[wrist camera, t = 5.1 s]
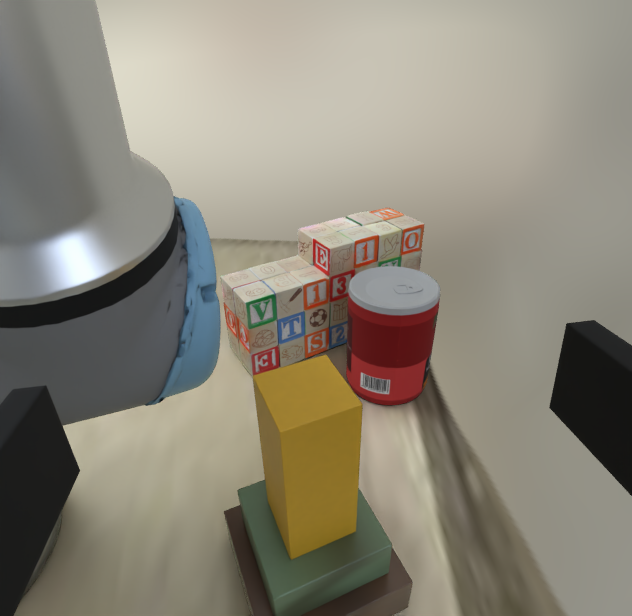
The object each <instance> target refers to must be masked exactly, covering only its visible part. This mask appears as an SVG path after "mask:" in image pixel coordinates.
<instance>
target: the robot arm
mask: <svg viewBox="0 0 632 616" xmlns="http://www.w3.org/2000/svg"><path fill="white" fill-rule="evenodd" d="M215 291H216V268H215V262H214V256H213V251H212V247H211V242H210V238H209V234H208V231H207V228H206V225H205V222H204V220H203V217H202V215H201V212H200V210H199V209H198V207H197V206H196V205H195V204H194V203H193V202H192V201H190V200H188V199H184V198H177V197H175V196H173V192H172V189H171V186H170V184H169V182H168V180H167V179H166V178H165V176H164V175H163V174H162V172H161V171H160V170H159V169H158V168H157V167H156V166H154V165H153V164H152V163H150V162H149V161H147V160H146V159H144V158H142V157H140V156H139V155H137V154H135V153H133V152H131V151H130V148H129V143H128V139H127V135H126V131H125V126H124V122H123V117H122V113H121V109H120V104H119V100H118V96H117V92H116V88H115V83H114V79H113V74H112V71H111V66H110V61H109V57H108V53H107V48H106V44H105V40H104V36H103V32H102V27H101V23H100V18H99V14H98V10H97V6H96V1H95V0H0V616H13V615H14V613H15V611H16V609H17V606H18V604H19V602H20V600H21V598H22V597H23V596H24V595H25V593H26V592H27V591H28V590H29V588H30V587H31V586H32V584H33V583H34V582H35V580H36V579H37V577H38V576H39V574H40V573H41V571H42V569H43V568H44V566H45V564H46V562H47V561H48V559H49V557H50V555H51V553H52V550H53V548H54V546H55V543H56V540H57V537H58V534H59V529H60V525H61V516H62V509H63V507H64V504H65V502H66V500H67V498H68V496H69V493H70V491H71V489H72V487H73V485H74V483H75V480H76V478H77V476H78V474H79V472H80V469H79V467H78V464H77V462H76V459H75V457H74V454H73V452H72V449H71V447H70V444H69V442H68V439H67V436H66V434H65V431H64V429H63V425H67V424H71V423H75V422H79V421H82V420H86V419H90V418H94V417H98V416H102V415H106V414H110V413H114V412H118V411H122V410H126V409H130V408H134V407H138V406H142V405H146V406H148V405H154V404H156V403H159V402H161V401H162V400H164V399H165V398H166V397H169V396H172V395H175V394H178V393H181V392H184V391H188V390H191V389H193V388H196V387H198V386H200V385H201V384H203V383H204V382H205V381H206V380H207V379H208V378H209V377H210V375H211V374H212V372H213V370H214V368H215V366H216V363H217V359H218V354H219V347H220V306H219V300H218V297H217V294H216V292H215ZM550 409H551V410H552V411H553V412H554V413H555V414H556V415H557V416H558V417H559V418H560V420H561V421H562V422H563V423H564V424H565V425H566V426H567V427H568V428H569V429H570V430H571V431H572V432H573V433H574V435H576V437H577V438H578V439H579V440H580V441H581V442H582V443H583V444H584V445H585V446H586V447H587V448H588V449H589V451H590V452H591V453H592V454H593V455H594V456H595V457H596V458H597V459H598V460H599V461H600V462H601V463H602V464H603V466H604V467H605V468H606V469H607V470H608V471H609V472H610V473H611V474H612V475H613V476H614V477H615V479H616V480H617V481H618V482H619V483H620V484H621V485H622V486H623V487H624V488H625V489H626V490H627V491H628V492H629V494H630V495H631V496H632V346H631V345H630V344H628V343H627V342H626V341H624V340H623V339H621V338H619V337H618V336H617V335H615V334H614V333H612V332H611V331H609V330H608V329H606V328H605V327H603V326H602V325H600V324H599V323H597V322H596V321H594V320H592V321H583V322H575V323H567V324H566V329H565V334H564V339H563V344H562V348H561V353H560V358H559V363H558V368H557V373H556V378H555V383H554V388H553V393H552V397H551V403H550Z"/></svg>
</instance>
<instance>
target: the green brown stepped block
mask: <svg viewBox="0 0 632 616" xmlns="http://www.w3.org/2000/svg"><path fill="white" fill-rule="evenodd" d="M238 497H239V502H240V505H239V506H236V507H234V508H231V509H228V510H226V511H224V515H225V520H226V525H227V529H228V534H229V538H230V542H231V545H232V549H233V552H234V556H235V559H236V563H237V566H238V570H239V574H240V577H241V581H242V584H243V588H244V591H245V595H246V598H247V602H248V605H249V609H250V612H251V616H392V615H394V614H396V613H398V612H399V611H401V610H403V609H405V608H407V607H408V604H409V599H410V594H411V588H412V583H413V582H412V580H411V578H410V577H409V575H408V573H407V572H406V570H405V568H404V567H403V565H402V563H401V562H400V560H399V558H398V556H397V555H396V553H395V551H394V550H393V548H392V543H391V542H390V540H389V538H388V537H387V535H386V533H385V532H384V530H383V528H382V527H381V525H380V523H379V522H378V520H377V518H376V516H375V515H374V513H373V511H372V510H371V508H370V506H369V505H368V503H367V501H366V500H365V498H364V496H363V495H362V493H361V491H360V490H359V488H358V501H357V520H356V531H355V532H353V533H351V534H349V535H347V536H344V537H342V538H340V539H337V540H335V541H333V542H331V543H328V544H326V545H324V546H322V547H319V548H317V549H315V550H312V551H310V552H308V553H306V554H303V555H301V556H299V557H297V558H294V559H292V560H291V559H290V557H289V554H288V552H287V549H286V546H285V544H284V541H283V539H282V536H281V534H280V531H279V528H278V526H277V523H276V521H275V518H274V515H273V513H272V510H271V508H270V505H269V503H268V499H267V491H266V482H265V480H263V481H260V482H258V483H255V484H252V485H250V486H247V487H244V488H241V489H239V490H238Z"/></svg>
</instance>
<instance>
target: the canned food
mask: <svg viewBox="0 0 632 616" xmlns="http://www.w3.org/2000/svg"><path fill="white" fill-rule="evenodd" d="M439 300H440V286H439V284H438V283H437V282H436V281H435V280H434V279H433V278H432V277H431V276H429V275H427V274H425V273H423V272H420V271H418V270H414V269H410V268H405V267H396V266H385V267H376V268H371V269H367V270H364V271H362V272H359V273H358V274H356V275H355V276H354V277H353V278H352V279H351V281H350V283H349V290H348V321H347V370H346V375H347V379H348V382H349V384H350V386H351V388H352V390H353V391H354V392H355V393H356V394H357V395H359V396H360V397H361V398H363V399H365V400H367V401H370V402H373V403H376V404H381V405H399V404H403V403H407V402H409V401H412V400H413V399H415V398H416V397H418V396H419V394H420V393H421V392H422V390H423V389H424V387H425V385H426V383H427V377H428V371H429V365H430V359H431V352H432V346H433V340H434V333H435V327H436V321H437V315H438V308H439Z"/></svg>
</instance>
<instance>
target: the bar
mask: <svg viewBox="0 0 632 616" xmlns="http://www.w3.org/2000/svg"><path fill="white" fill-rule="evenodd" d="M253 384H254V392H255V400H256V409H257V417H258V425H259V433H260V441H261V450H262V458H263V466H264V474H265V482H266V491H267V499H268V503H269V505H270V508H271V510H272V513H273V515H274V518H275V521H276V523H277V526H278V528H279V531H280V534H281V536H282V539H283V541H284V544H285V546H286V549H287V552H288V554H289V557H290V559H291V560H292V559H294V558H297V557H299V556H301V555H303V554H306V553H308V552H310V551H312V550H315V549H317V548H319V547H322V546H324V545H326V544H328V543H331V542H333V541H335V540H337V539H340V538H342V537H344V536H347V535H349V534H351V533H353V532H355V531H356V520H357V501H358V481H359V462H360V443H361V424H362V403H361V401H360V400H359V399H358V397H357V396H356V395H355V393H354V392H353V391H352V389H351V388H350V386H349V385H348V384H347V382H346V381H345V380H344V378H343V377H342V376H341V374H340V373H339V371H338V370H337V369H336V367H335V366H334V365H333V363H332V362H331V361H330V359H329V358H328V357H327V355H322V356H319V357H316V358H312V359H309V360H305V361H302V362H298V363H295V364H291V365H288V366H284V367H281V368H277V369H274V370H270V371H267V372H263V373H260V374H257V375H253Z"/></svg>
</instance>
